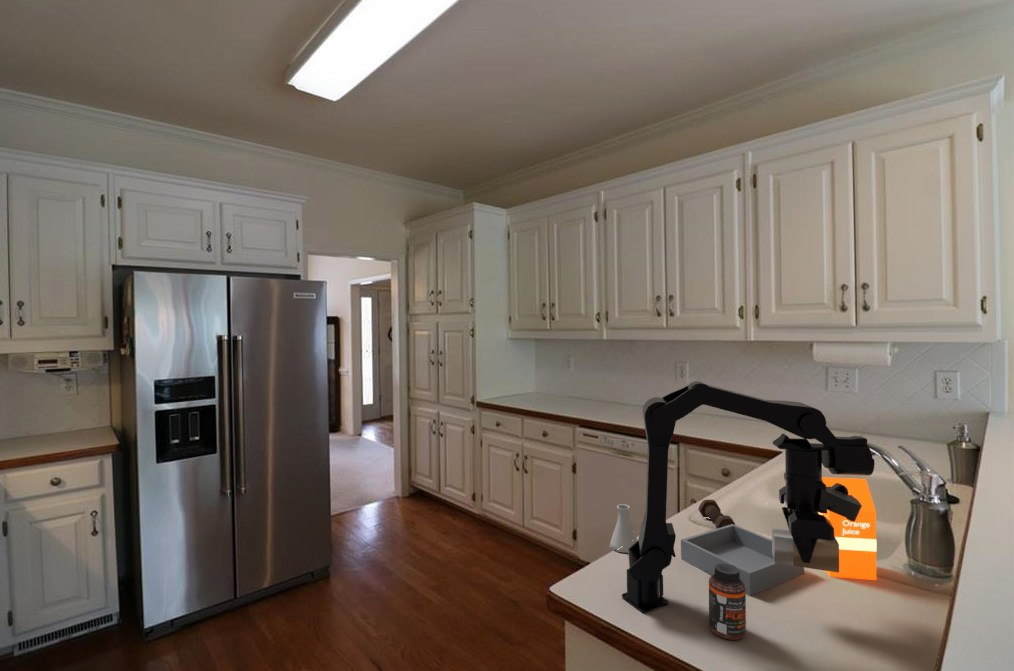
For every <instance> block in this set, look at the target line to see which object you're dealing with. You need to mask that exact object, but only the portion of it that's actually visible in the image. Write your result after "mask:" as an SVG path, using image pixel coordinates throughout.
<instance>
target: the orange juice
mask: <svg viewBox="0 0 1014 671" xmlns="http://www.w3.org/2000/svg"><path fill="white" fill-rule="evenodd" d="M822 480H823V482H824V484H826V487H828V486H830V487H831V486H833V485H834V484H836V483H839V484H842V485H844V486H846V488H847V489H848V495H852V496H853V497H854V498H856V499H857V500H858V501H859V502H860V504H861V505H862V507H861V509H860V511H859V514H858V516H857V518H856V520H855V522H853V521H850V520H848V519H847V518H846V517H843V516H841V515H838V514H836V513H834V512H831V511H829V510H827V514H825V513H819V512H818V513H819V515H824V516H825V517H826V518H827V519H828V520H829V521H830V522H831V524H832V526H833V528H834V536H835V538H836V540H837V542H838V544H839V573H837V572H831V571H825V573H827V575H828V576H829V577H830V578H841V579H842V578H844V579H845V578H846V579H857V580H868V581H869V580H870V581H877V511H876V508H875V504H874V501H873V497H872V494H871V491H870V488H869V484H868V482H867V479H866V478H851V477H850V478H849V477H848V478H847V477H845V478H844V477H825V476H822Z"/></svg>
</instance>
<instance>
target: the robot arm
mask: <svg viewBox="0 0 1014 671" xmlns="http://www.w3.org/2000/svg"><path fill="white" fill-rule="evenodd" d="M704 405H705V406H708V407H712V408H716V409H719V410H721V411H722V410H723V411H727V412H731V413H733V414H738V415H741V416H745V417H750V418H752V419H756V420H760V421H764V422H767V423H769V424H771V425H773V426H775V427H778V428H780V429H782V430H784V431H786V432H789V433H790V434H793V435H795V436H797V437H798V438H796V437H795V438H792V437H789V436H788V435H787V434H786V433H781V435H780V436H779V437H778V438H776V439H774V440H773V441H772V445H774V447H777V449H779V450H784V451H785V458H784V459H785V462H784V463H785V472H784V473H783V478H784V481H785V486H783V487H781V488H780V489H779V490H778V500H779V502H780V505H784V504H785V506H783V507H781V510H782V512H783V513H782V514H783V515H784V518H785V520H786V525H787V527H788V528H787V529H788V530H789V531H790V533H791V535H792V537H793V540H794V542H795V545H796V547H797V549H798V552H799V554H800V557H801V559H802V561H803V562H804V563H810V561H811V558H812V554H813V551H814V548H815V545H816V542H817V540H818V539H822V540H830V541H832V540H834V528H833V526H832V524H831V522H830V521H829V520H828V519H827V518H826V517H825V516H824V515H819V513H825V514H827V510H829V511H831V512H834V513H836V514H838V515H841V516H843V517H846V518H847V519H848V520H850V521H853V522H855V520H856V518H857V516H858V514H859V511H860V509H861V507H862V505H861V504H860V502H859V501H858V500H857V499H856V498H854V497H853V496H852V495H848V489H847V488H846V486H844V485H842V484H839V483H836V484H834V485H833V486H831V487H830V486H828V487H826V484H824V482H823V480H822V477H823V468H825V469H828V471H829V472H830V474H832V475H840V476H841V475H842V476H843V475H846V476H848V475H849V476H868V477H869V476H871V475H872V474H873V473H874V470H875V465H876V464H875V459H874V457H873V454H872V451H871V449H870V447H869V445H868V439H867V438H866V437H864V436H861V435H852V436H835V434H834V433H833V432H832V431H831V430H830V429H829V427H828V426H827V419H826V416H825V415H824V413H823V412H822V411H821V410H820V409H817V408H815V407H812V406H810V405H808V404H806V403H803V402H802V401H801V402H800V401H793V400H792V401H789V400H772V399H764V398H759V397H756V396H751V395H748V394H745V393H741V392H736V391H734V390H729V389H725V388H722V387H718V386H713V385H709V384H706V383H704V382H702V381H701V380H700V381H698V380H696V381H692V382H690V383H689V384H688V385H686V386H684V387H683V388H680V389H677V390H674V391H672V392H669V393H668V394H665V395H664V396H662V397H658V396H655V397H652V398H649V399H648V400H646V402H644V404H643V406H642V417H643V418H642V419H643V423H644V430H645V437H646V443H647V451H646V452H647V455H646V456H647V457H646V460H647V461H646V484H645V485H646V488H645V489H646V492H645V513H644V515H643V519H642V522H641V526H640V530H639V534H638V535H639V536H638V539H637V540H638V541H637V542H635V543H634V544H633V545H632V546H631V547H630V548H629V549H628V553H627V554H628V566H629V568H627V569H626V592H624V593H621V598H622V599H623V600H625V601H627V602H628V603H630V605H632V606H633V607H634V608H635V609H637V610H638V611H640V612H642V613H645V614H646V613H648V612H650V611H653V610H656V609H659V608H661V607H664V606H667V605H669V600H667V599H666V598H665V597H664V575H663V570H665V569H666V568H667V567H669V566H670V565H671V563H672V559H673V557H674V558H676V553H675V549H674V548H675V544H676V536H677V535H676V533H675V529H674V526H673V525H674V524H673V523H672V522H667V499H668V498H667V496H668V495H667V494H668V471H669V470H668V468H669V463H668V462H669V449H670V446H671V442H672V439H673V437H674V436H673V435H674V431H675V427H676V424H677V423H676V422H677V421H679V420H681V419H683V418H684V417H686V416H687V415H689V414H690V413H692V412H693V411H695V410H696V409H697V408H699V407H701V406H704ZM809 440H816V441H817V442H819V443H816V442H815V443H812V442H810V441H809ZM818 512H819V513H818Z"/></svg>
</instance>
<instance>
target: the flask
mask: <svg viewBox="0 0 1014 671" xmlns="http://www.w3.org/2000/svg"><path fill="white" fill-rule="evenodd" d="M616 510H617V520H616V524H615V528H614V530H613V534H612V536H611V540H610V542H609V546H608V547H609V549H611V550H614V551H615V550H616V552H618V553H626V554H628V549H629V548H630V547H631V546H632V545H633V544H634V543H635V542H637V541H638V540H639V539H638V538H637V536H636V532H635V531H634V528H633V525H632V522H631V518H630V510H631V506H630V505H628V504H625V503H624V504H622V503H620V504H617V505H616ZM632 540H633V541H632ZM621 546H623V547H622V548H620V547H621ZM618 548H620V549H619V550H617V549H618Z"/></svg>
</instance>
